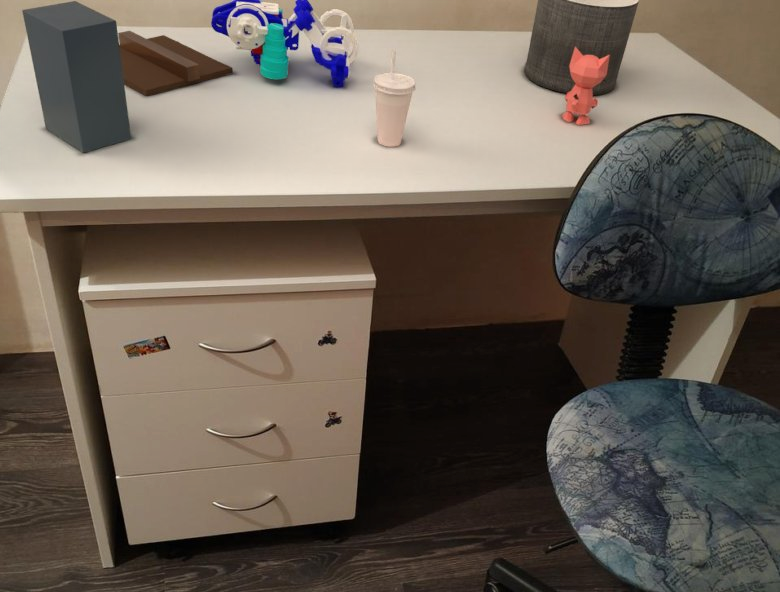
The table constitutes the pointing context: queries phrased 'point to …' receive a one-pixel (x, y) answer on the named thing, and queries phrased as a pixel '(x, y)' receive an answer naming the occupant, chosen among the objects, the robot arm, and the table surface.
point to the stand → (78, 74)
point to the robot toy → (286, 35)
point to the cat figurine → (584, 85)
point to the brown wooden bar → (159, 56)
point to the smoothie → (392, 104)
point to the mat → (157, 79)
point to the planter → (578, 39)
